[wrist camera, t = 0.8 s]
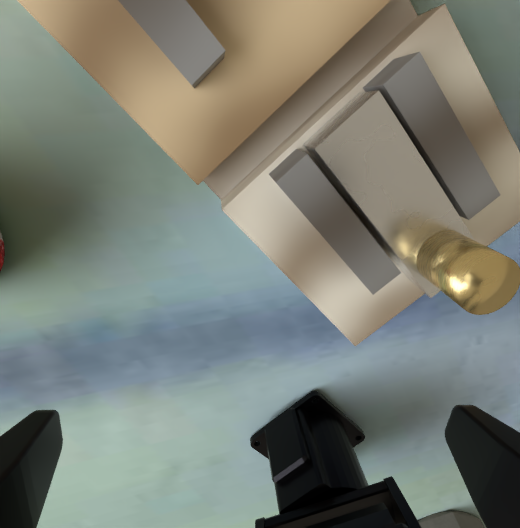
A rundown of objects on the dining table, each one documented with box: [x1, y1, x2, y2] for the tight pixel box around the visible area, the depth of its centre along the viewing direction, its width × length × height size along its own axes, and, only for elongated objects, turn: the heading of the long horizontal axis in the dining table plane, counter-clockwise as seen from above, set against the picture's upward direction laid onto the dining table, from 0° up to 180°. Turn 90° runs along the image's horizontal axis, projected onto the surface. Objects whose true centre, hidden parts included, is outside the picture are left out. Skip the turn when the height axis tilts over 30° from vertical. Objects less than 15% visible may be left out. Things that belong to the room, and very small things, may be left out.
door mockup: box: [18, 0, 520, 346], centre depth 15 cm, size 23×12×6 cm, turn 41°
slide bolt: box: [303, 90, 520, 315], centre depth 14 cm, size 9×3×5 cm, turn 41°
